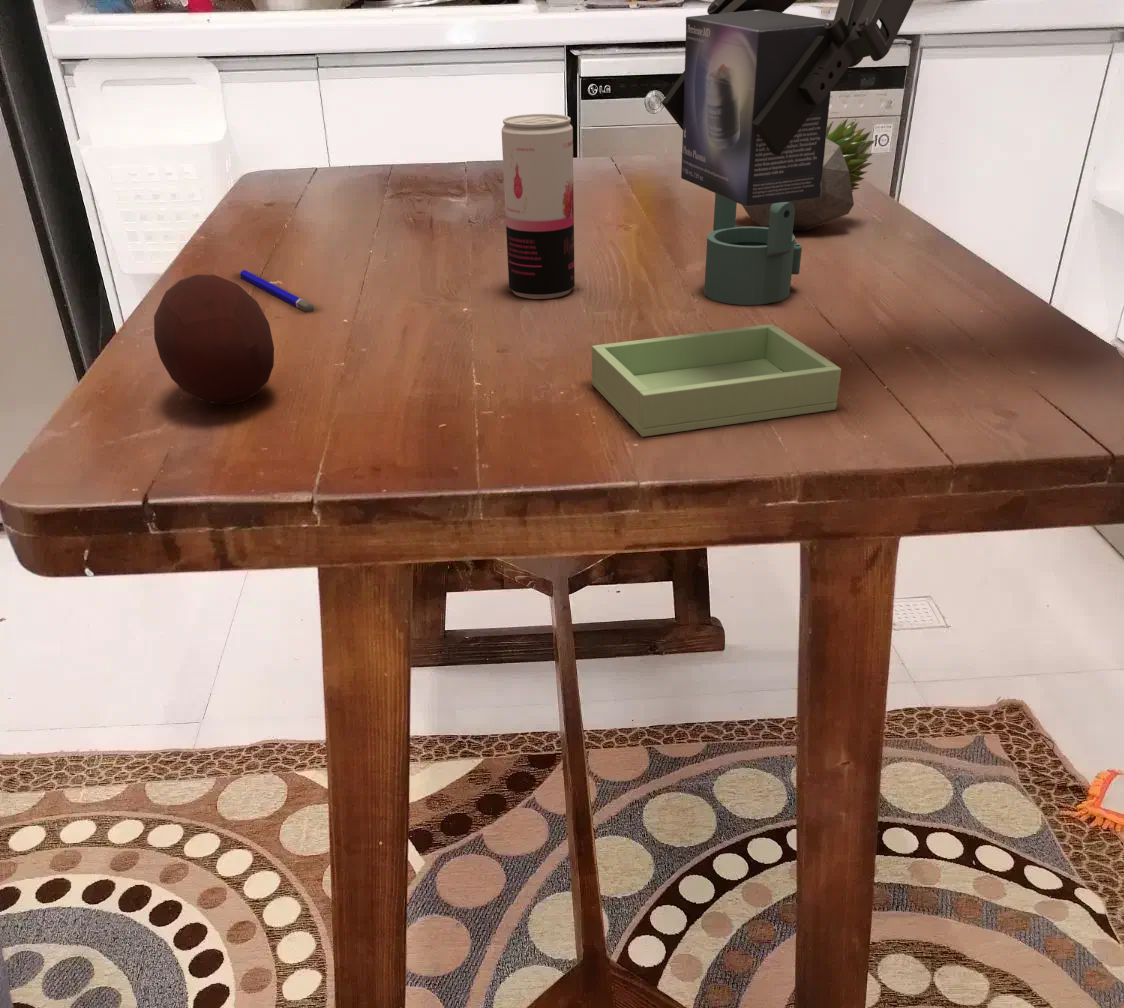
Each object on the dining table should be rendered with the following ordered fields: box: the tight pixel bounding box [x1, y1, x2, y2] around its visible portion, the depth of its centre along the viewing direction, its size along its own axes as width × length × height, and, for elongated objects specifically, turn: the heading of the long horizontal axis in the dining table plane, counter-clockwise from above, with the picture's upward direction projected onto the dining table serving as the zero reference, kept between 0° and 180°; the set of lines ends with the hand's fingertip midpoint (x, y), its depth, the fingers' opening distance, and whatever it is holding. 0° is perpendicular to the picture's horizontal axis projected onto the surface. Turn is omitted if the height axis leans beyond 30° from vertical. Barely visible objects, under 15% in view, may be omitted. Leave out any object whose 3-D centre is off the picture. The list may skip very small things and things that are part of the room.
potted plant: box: [741, 118, 875, 232], centre depth 125 cm, size 12×13×15 cm
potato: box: [153, 274, 275, 405], centre depth 84 cm, size 9×12×9 cm
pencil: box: [239, 269, 315, 313], centre depth 111 cm, size 17×1×1 cm, turn 36°
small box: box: [680, 9, 833, 207], centre depth 76 cm, size 11×6×10 cm, turn 21°
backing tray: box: [591, 323, 842, 438], centre depth 84 cm, size 12×16×3 cm
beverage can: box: [501, 113, 576, 300], centre depth 105 cm, size 7×7×15 cm
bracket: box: [703, 193, 803, 306], centre depth 105 cm, size 9×9×9 cm
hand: (717, 128), depth 76 cm, fingers closed on small box, 11 cm apart
